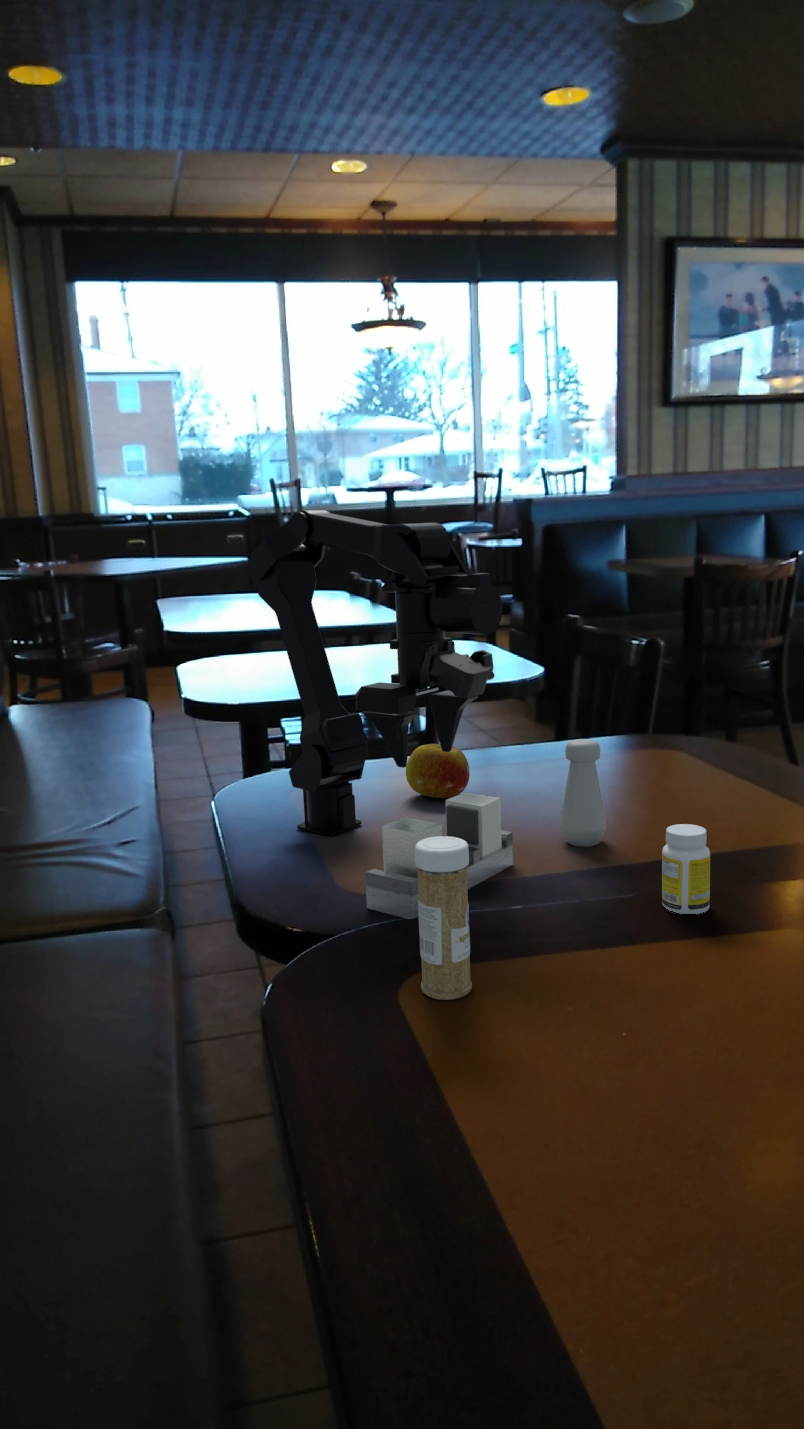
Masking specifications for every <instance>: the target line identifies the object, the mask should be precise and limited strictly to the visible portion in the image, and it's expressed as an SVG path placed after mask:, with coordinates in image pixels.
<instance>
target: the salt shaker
mask: <svg viewBox="0 0 804 1429" xmlns="http://www.w3.org/2000/svg"><path fill="white" fill-rule="evenodd" d="M564 751H565V753H564V754H565V758H566V759H567V760H568V761H569V768H568V774H567V779H566V784H565V785H566V786H565V789H564V791H565V792H564V797H563V803H562V810H561V815H560V819H559V820H560V821H559V826H560V830H561V832H562V835H563V836H564V840H565V842H566V843H567V844H570V845H572V846H573V847H592V846H596V845H598V844H601V841H602V839H603V837H604V834H605V832H606V830H607V819H606V818H607V817H606V813H605V810H604V808H605V807H604V803H603V798H602V792H601V786H600V780H599V775H598V769H597V764H596V761H598V760H600V758H601V746H600V743H598V742H597V741H596V740H594V739H589V738H578V739H572V740H570V741H568V742H567V743H566V746H565V750H564Z"/></svg>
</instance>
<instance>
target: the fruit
mask: <svg viewBox="0 0 804 1429" xmlns="http://www.w3.org/2000/svg"><path fill="white" fill-rule="evenodd" d="M470 773H471V772H470V765H469V762H468V759H467V757H466V754H465V753H464V752H463V751H462V750H461V749H459V748H458V747H455V746H452V749H451V751H450V752H443V751H442V748H441V745H440V743H438V744H437V743H429V744H428V743H427V744H423V745H420V746H418V747H417V748H415V749H414V750H413V751H412V753H411V754H410V756H409V757H408V758H407V765H406V767H405V777H406V781H407V783H408V785H409V787H410V788H411V789H412V790H413V791H414V792H416V793H417V794H420V795H423V796H426V797H430V798H436V799H450V798H453V797H455V796H457V795H460V794H462V793H464V791H465V789H467V788H466V787H467V786H468V785H469V780H470V775H471V774H470Z"/></svg>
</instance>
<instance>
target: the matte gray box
mask: <svg viewBox="0 0 804 1429" xmlns="http://www.w3.org/2000/svg"><path fill="white" fill-rule="evenodd" d="M445 822H446V823H445V825H446V828H445V830H446V831H445V832H446V836H449V837H456V838H460V839H463V840H465V841H466V842H467V844H468V846H469V847H474V848H479V849H480V857H484V856H486V855H488V854H490V853H492V852H494V851H496V850H498V849H500V848H502V837H501V830H502V800H501V797H498V796H497V797H495V796H489V795H483V794H476V793H471V792H461V793H460V794H459V795H457V796H454V797H450V798H447V799H445Z"/></svg>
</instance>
